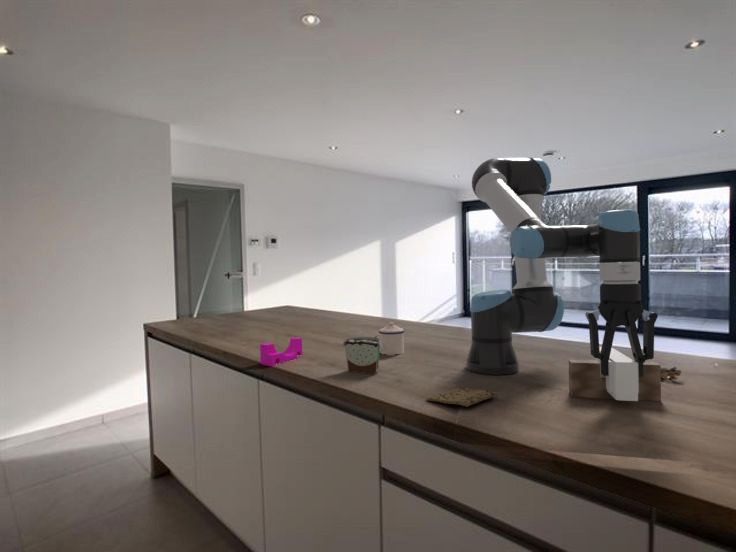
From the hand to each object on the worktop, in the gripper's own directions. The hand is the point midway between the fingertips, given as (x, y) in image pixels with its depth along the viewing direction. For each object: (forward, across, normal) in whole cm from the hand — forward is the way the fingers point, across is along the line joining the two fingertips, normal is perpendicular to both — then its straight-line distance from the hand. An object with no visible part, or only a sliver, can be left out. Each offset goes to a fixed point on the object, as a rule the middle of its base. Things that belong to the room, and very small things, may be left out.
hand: (622, 390), depth 89 cm
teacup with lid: (+3, -61, +46) cm, 76 cm away
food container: (+3, -63, +21) cm, 67 cm away
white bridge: (+1, 0, +6) cm, 6 cm away
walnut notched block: (+3, 0, +6) cm, 7 cm away
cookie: (+4, -34, -1) cm, 34 cm away
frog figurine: (+4, +16, +26) cm, 30 cm away
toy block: (+3, -94, +28) cm, 98 cm away
